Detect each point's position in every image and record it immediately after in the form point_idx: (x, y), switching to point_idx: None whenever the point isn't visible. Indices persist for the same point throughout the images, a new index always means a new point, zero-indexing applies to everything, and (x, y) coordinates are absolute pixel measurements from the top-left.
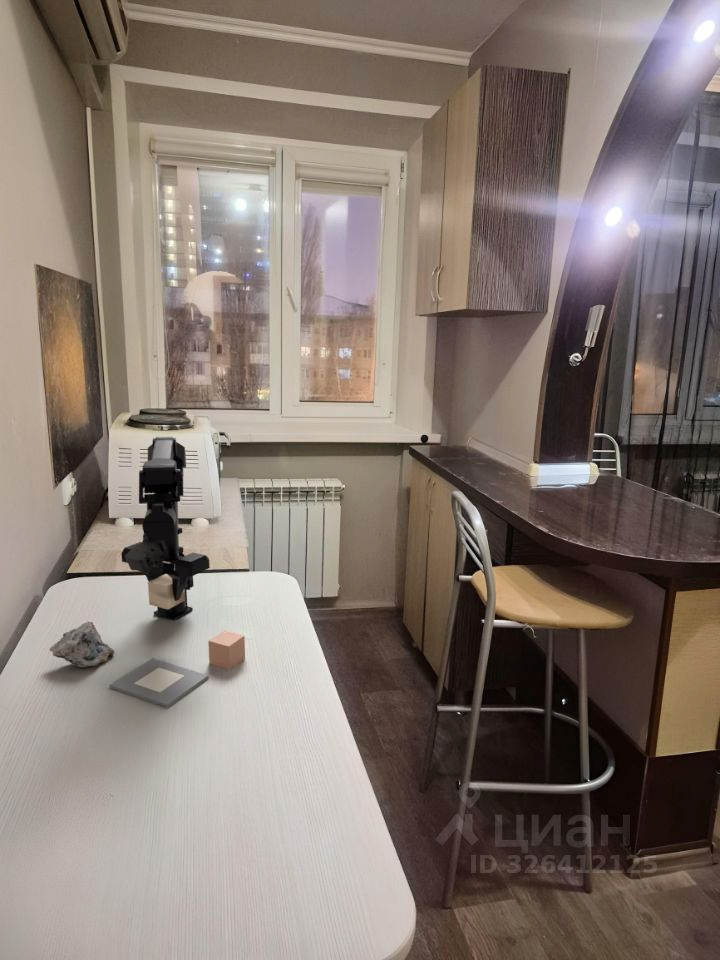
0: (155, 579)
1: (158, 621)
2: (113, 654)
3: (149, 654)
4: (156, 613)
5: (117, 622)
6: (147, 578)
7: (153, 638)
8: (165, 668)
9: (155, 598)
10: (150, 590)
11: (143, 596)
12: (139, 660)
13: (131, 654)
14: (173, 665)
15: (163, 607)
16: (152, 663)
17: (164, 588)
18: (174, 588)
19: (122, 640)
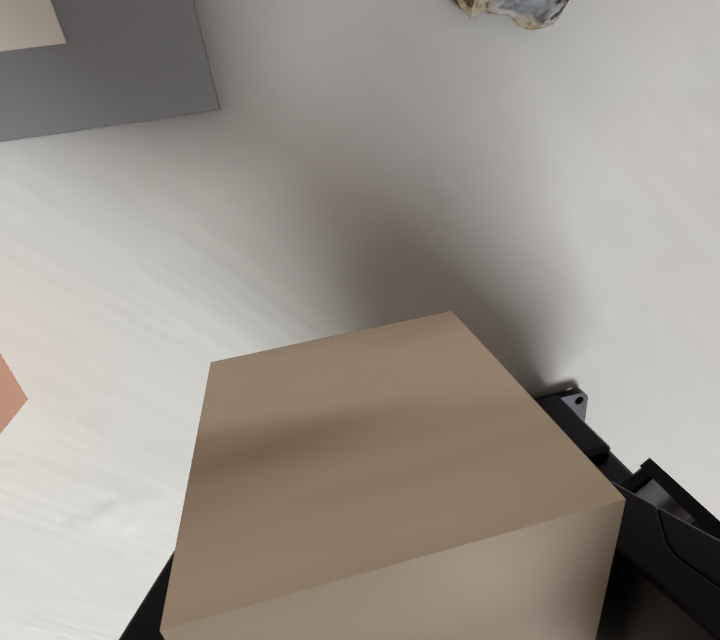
0: (572, 599)
1: (523, 370)
2: (458, 4)
3: (303, 149)
4: (569, 397)
5: (673, 257)
6: (708, 542)
7: (424, 268)
8: (30, 67)
9: (390, 373)
10: (499, 411)
11: (708, 438)
12: (287, 64)
13: (382, 85)
14: (33, 126)
15: (271, 353)
16: (154, 59)
17: (226, 557)
18: (158, 635)
19: (537, 160)
